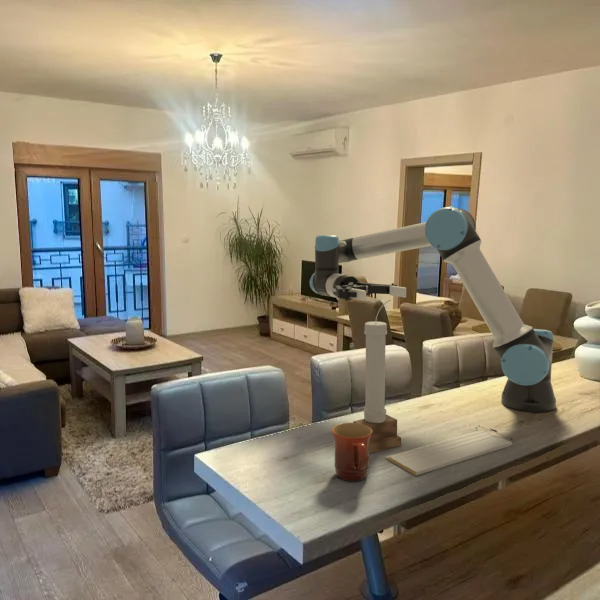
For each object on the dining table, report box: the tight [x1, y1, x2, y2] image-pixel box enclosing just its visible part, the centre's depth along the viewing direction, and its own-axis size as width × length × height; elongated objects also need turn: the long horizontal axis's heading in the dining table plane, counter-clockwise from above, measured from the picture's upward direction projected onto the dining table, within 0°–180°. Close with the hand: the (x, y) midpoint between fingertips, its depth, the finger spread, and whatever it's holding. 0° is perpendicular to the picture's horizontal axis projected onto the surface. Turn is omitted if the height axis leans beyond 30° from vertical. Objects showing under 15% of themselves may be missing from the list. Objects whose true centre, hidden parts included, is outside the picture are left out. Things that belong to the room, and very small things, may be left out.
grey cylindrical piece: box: [363, 299, 391, 423], centre depth 131 cm, size 6×6×30 cm
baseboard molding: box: [384, 425, 513, 476], centre depth 129 cm, size 31×3×12 cm
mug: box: [331, 422, 373, 482], centre depth 115 cm, size 12×9×10 cm
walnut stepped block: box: [352, 414, 402, 454], centre depth 133 cm, size 10×8×6 cm
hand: (385, 294), depth 147 cm, fingers open, 13 cm apart
